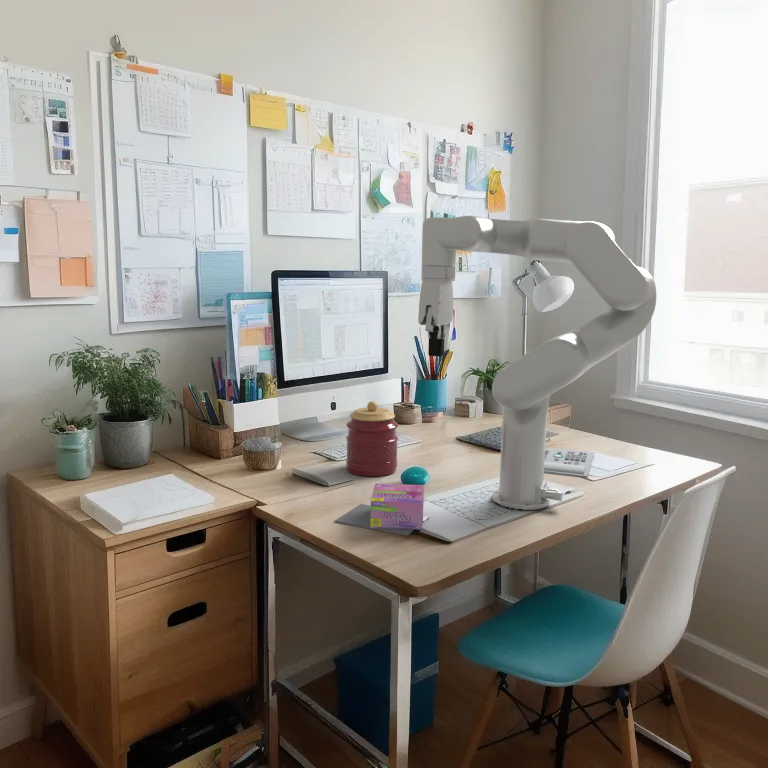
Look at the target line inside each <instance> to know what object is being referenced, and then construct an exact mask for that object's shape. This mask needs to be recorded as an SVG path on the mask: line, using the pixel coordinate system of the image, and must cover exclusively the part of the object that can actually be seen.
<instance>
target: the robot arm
mask: <svg viewBox="0 0 768 768" xmlns="http://www.w3.org/2000/svg"><path fill="white" fill-rule="evenodd" d="M421 236H422V237H421V238H422V239H421V240H422V241H421V277H420V278H421V279H420V281H421V284H420V291H419V302H418V315H417V316H418V317H417V319H418V321H417V322H418V324H419V325H420V326H425V329H424V330H425V331H426V332H427V338H428V351H427V355H428V356H429V357H439V358H441V357H444V356H445V339H446V338H445V337H446V332H447V331H446V329H448V326H449V324H450V323H452V321H453V317H454V286H453V282H455V281H456V265H457V264H456V263H457V261H456V258H457V257H456V256H457V251H460V252H461V251H462V252H470V253H471V252H472V253H474V252H476V253H488V254H500V255H502V254H503V255H511V256H518V257H523V258H525V259H526V260H527V259H528V260H531V261H542V262H551V263H552V262H553V263H562V264H572V265H573V266H574V267H575V268H576V270H577V271H578V272H579V273H580V274H581V276H582V277H583V278H584V279H585V280H586V281H587V282H588V284H589V285H590V286H591V287H592V288H593V290H594V291H595V292H596V293H597V294H598V295H599V296H600V298H601V299H602V300H603V301H604V302H605V303H606V304H607V307H606V308H604V309H603V310H602V311H601V312H599V313H597V314H596V315H594V316H592V317H590V318H589V319H588V320H587V321H585V322H583V323H582V324H580V325H579V326H576V327H575V328H573V329H572V330H570V331H567V332H566V333H564V334H563V333H562V334H561V335H557V336H554V337H553V338H550V339H548V340H546V341H544V342H543V343H541V344H540V345H538V346H537V347H535V348H533V349H531V350H530V351H528V352H527V353H525V354H524V355H522V356H521V357H519V358H517V359H516V360H514V361H512V362H511V363H509V364H508V365H506V366H505V367H503V368H502V369H500V370H499V371H498V372H497V373H496V375H495V377H494V379H493V381H492V386H491V391H492V393H491V394H492V396H493V399H494V400H495V401H496V404H498V405H499V406H500V407H501V408H503V411H502V419H501V420H502V423H501V439H500V441H501V442H500V463H499V488H498V489H497V490H495V491H493V492H492V493H491V500H492V499H493V500H492V502H493V501H494V502H493V503H495V502H496V503H498V504H500V505H502V506H501V507H503V506H505V507H504V508H506V507H509V508H508V509H511V508H514V509H513V510H518V509H522V510H521V511H534V510H539V509H543V508H546V507H548V506H549V505H550V500H553V501H557V502H562V501H563V496H564V494H563V492H562V491H560V489H558V488H551V487H549V486H548V481H547V480H544V478H545V477H544V475H545V473H544V462H545V448H546V442H547V439H546V438H547V427H548V426H547V425H548V424H547V423H548V413H549V412H548V411H549V405H550V404H549V403H550V398H551V395H552V394H554V393H556V392H558V391H560V389H563V388H564V387H566V386H567V385H569V384H571V383H572V382H574V381H576V380H577V379H579V378H580V377H581V376H583V375H584V374H585V373H586V372H587V371H589V370H590V369H591V368H592V367H594V366H595V365H597V364H598V363H600V362H602V361H604V360H605V359H607V358H609V357H610V356H612V355H613V354H615V353H616V352H618V351H620V350H621V349H622V348H624V347H626V346H628V345H629V344H630V343H631V342H633V341H634V340H636V338H638V337H639V336H640V335H641V334H642V333H643V332H644V331H645V329H646V328H647V326H648V325H649V324H650V321H651V320H652V318H653V316H654V313H655V310H656V305H657V287H656V283H655V280H654V278H653V276H652V274H651V273H650V272H649V271H648V270H647V269H645V268H643V267H640V266H636V265H635V263H634V262H632V260H631V258H629V257H628V256H627V254H626V253H625V252H624V251H623V250H622V249H621V248H620V247H619V245H618V244H617V243H616V238H615V234H614V232H613V230H612V229H611V228H610V227H609V226H607V225H605V224H604V223H602V222H601V223H600V222H597V221H591V220H587V221H573V220H561V219H549V218H532V219H529V220H510V219H509V220H508V219H498V218H497V219H496V218H486V217H482V216H476V215H462V216H457V217H439V216H436V217H428V218H426V219H424V221H423V222H422V235H421ZM496 503H495V504H496ZM498 504H497V505H498ZM548 504H549V505H548ZM500 505H499V506H500ZM547 505H548V506H547Z"/></svg>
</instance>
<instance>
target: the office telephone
mask: <svg viewBox="0 0 768 768" xmlns="http://www.w3.org/2000/svg"><path fill="white" fill-rule="evenodd" d="M594 454H596V453H595V451H587V450H575V449H568V448H567V449H566V448H556V447H555V448H548V447H547V448H546V447H545V462H544V474H552V475H560V476H568V477H569V476H570V477H577V478H578V477H579V478H586V479H587V478H588V477H589V475H590V470H591V467H592V464H591V463H593V460H594V458H595V455H594ZM593 457H594V458H593ZM592 459H593V460H592ZM588 474H589V475H588Z"/></svg>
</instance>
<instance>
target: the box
mask: <svg viewBox="0 0 768 768" xmlns="http://www.w3.org/2000/svg"><path fill="white" fill-rule="evenodd" d="M424 487H425V486H424V484H397V483H395V484H394V483H375V484H374V487H373V491H372V494H371V499H370V506H371V523H370V528H386V529H415V530H418V531H421V530H420V529H421V528H422V529H423V523H424V522H423V515H424V501H425V500H424V498H425V497H424V496H425V495H424V493H425V491H424V489H425V488H424ZM422 522H423V523H422Z"/></svg>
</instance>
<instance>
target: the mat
mask: <svg viewBox="0 0 768 768" xmlns="http://www.w3.org/2000/svg"><path fill="white" fill-rule="evenodd" d="M334 523H338V524H343V525H349V526H354V527H359V528H364V529H367V530H368V529H369V530H375V531H380V532H385V533H390V534H394V535H399V536H406V537H408V536H409V535H410V534H411V533H413V532H414V531H415V530H414V529H386V528H370V523H371V504H370V505H369V504H363V503H360V504H359V505H357V506H355V507H354V508H352V509H351V510H349V511H348V512H346V513H344V514H343V515H341V516H340V517H338V518H336V519H335V520H334Z"/></svg>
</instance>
